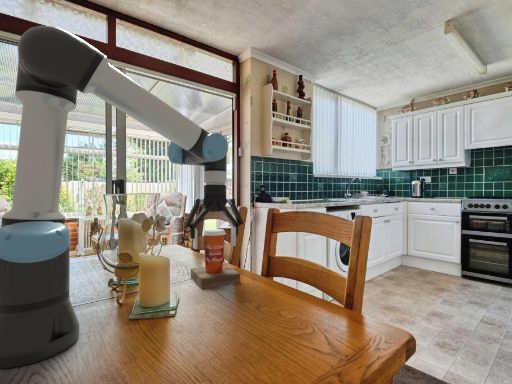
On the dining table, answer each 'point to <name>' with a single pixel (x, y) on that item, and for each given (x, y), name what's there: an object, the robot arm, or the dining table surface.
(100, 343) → the dining table surface
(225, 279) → the walnut plinth
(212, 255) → the paper cup
